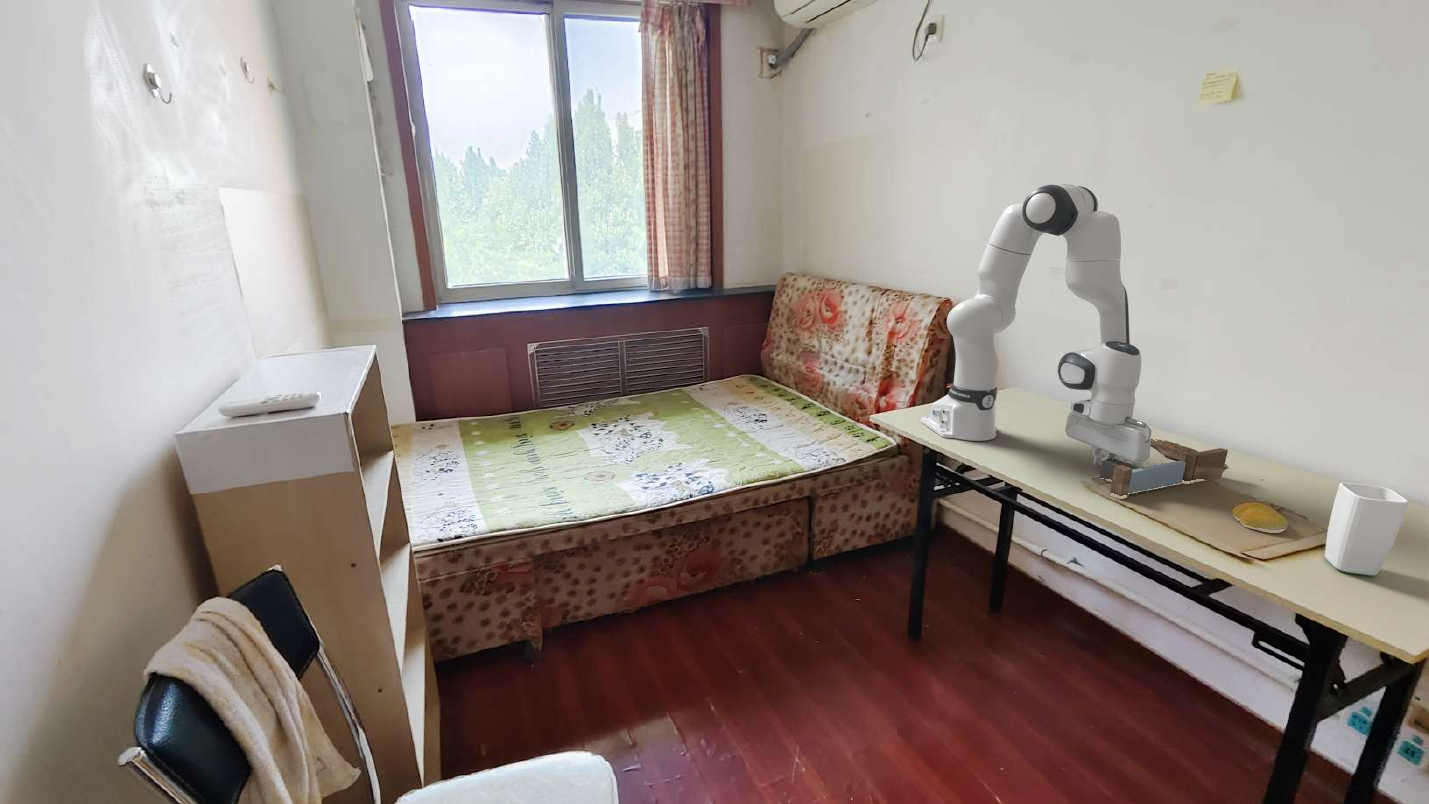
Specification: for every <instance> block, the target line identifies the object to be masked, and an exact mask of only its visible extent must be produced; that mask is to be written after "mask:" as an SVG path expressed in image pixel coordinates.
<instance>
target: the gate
mask: <svg viewBox="0 0 1429 804" xmlns="http://www.w3.org/2000/svg"><path fill="white" fill-rule="evenodd" d="M1185 465H1186V462H1184V461H1180V460H1177V461H1172V462H1165V463H1160V464H1156V465H1149V466H1143V467H1140V468H1139V467H1138V469H1133V470H1132V475H1131V480H1130V486H1129V491H1128V493H1133V492H1137V491H1143V490H1148V489H1153V488H1158V487H1161V486H1169V485H1173V484H1178V483H1181V482H1182V479H1183V474H1184V470H1185ZM1181 484H1182V483H1181Z"/></svg>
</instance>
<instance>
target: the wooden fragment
mask: <svg viewBox="0 0 1429 804" xmlns="http://www.w3.org/2000/svg"><path fill="white" fill-rule="evenodd" d="M1153 439H1154V438H1151V443H1150V446H1152V447H1153V448H1154V449H1156V450H1157V451H1158V452H1160V453H1161V454H1162V455H1163V456H1164V457H1166V458H1171V459H1175V460H1177V461H1185V457H1186V454H1191V453H1196V452H1199V451H1198V450H1196V449H1194V448H1191V447H1188V446H1185V445H1181V444H1179V443H1178V442H1172V441H1170V440H1162V439H1155V440H1157V441H1155V440H1153ZM1227 467H1228V465H1227V464H1226V463H1225V465H1224V469H1223V472H1224V470H1225V469H1227Z"/></svg>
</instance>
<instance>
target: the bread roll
mask: <svg viewBox="0 0 1429 804" xmlns="http://www.w3.org/2000/svg"><path fill="white" fill-rule="evenodd" d="M1232 515H1233V517H1234V516H1235V517H1237V518H1238V519H1240V520H1239V521H1241V522H1242V523H1243V524H1245V525H1247V526H1251V527H1254V528H1263V529H1268V530H1280V529H1285V528H1287V529H1288V527H1289V522H1288V520H1287V519H1286V517H1284V516H1282V515H1280V514H1279V513H1278V511H1276V510H1275V509H1274V508H1273V507H1271V506H1270V505H1267V504H1264V503H1260V502H1254V501H1253V502H1250V501H1249V502H1245V503H1242V504H1238V505H1237V506H1235V507H1234V508H1233V509H1232Z"/></svg>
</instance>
